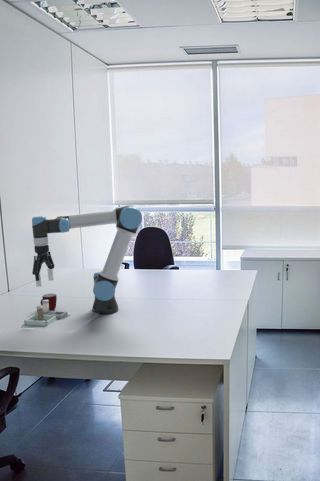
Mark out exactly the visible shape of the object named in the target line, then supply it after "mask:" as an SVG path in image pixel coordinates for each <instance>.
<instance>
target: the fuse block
mask: <svg viewBox="0 0 320 481" xmlns="http://www.w3.org/2000/svg"><path fill="white" fill-rule="evenodd" d="M43 315H51V316H57V320H65V319H67V318H68V317H69V316H71V314H69V313H68V311H62V310H61V311H60V310H59V311H58V310H56V311H55V310H54V311H49V314H43Z"/></svg>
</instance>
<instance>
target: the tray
mask: <svg viewBox="0 0 320 481" xmlns="http://www.w3.org/2000/svg"><path fill="white" fill-rule="evenodd" d="M43 316H44V321H37V320H38V318H37V314H33V315H31V316H30V317H28V318H26V319H24V321H23V323H24V325H26V326H41V327H48V326H49V325H51V324H53V323H54V322H56V321H58V319H57V316H51V315H43Z"/></svg>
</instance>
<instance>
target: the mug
mask: <svg viewBox="0 0 320 481" xmlns="http://www.w3.org/2000/svg"><path fill="white" fill-rule="evenodd" d="M42 300H49V302H48V303H49V311H55V310H56V307H57V300H58V298H57V294H56V293H45V294H42V298H41V300H40V306H43V303H42Z"/></svg>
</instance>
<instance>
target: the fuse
mask: <svg viewBox="0 0 320 481" xmlns="http://www.w3.org/2000/svg"><path fill="white" fill-rule="evenodd" d="M41 300H42V299H41ZM48 302H49V300H42V303H43V314H49V303H48Z"/></svg>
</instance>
